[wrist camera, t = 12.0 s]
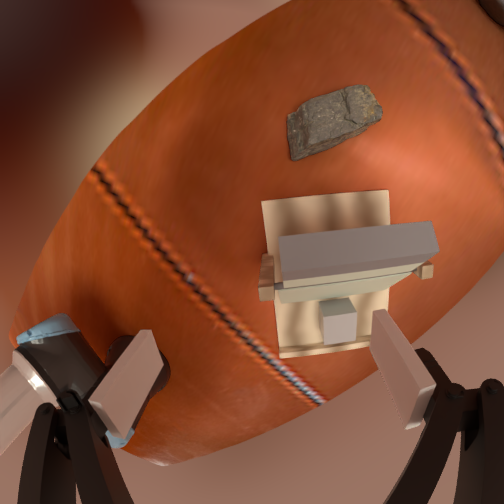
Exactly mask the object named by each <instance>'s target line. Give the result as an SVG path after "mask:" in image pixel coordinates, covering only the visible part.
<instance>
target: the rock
mask: <svg viewBox="0 0 504 504" xmlns="http://www.w3.org/2000/svg"><path fill="white" fill-rule="evenodd" d="M370 91H371V90H370V88H369V87H368V86H367V85H354V86H349V87H345V88H344V89H341V90H338V91H335V92H332V93H329V94H326V95H322V96H318V97H315V98H312V99H310V100H308V101H306V102H305V103H303V104H302V105H301V106H300V107H299V108H298V110H297V111H296V112H293V113H291V114H289V115H288V119H287V129H288V133H287V136H288V137H287V139H288V141H289V148H290V155H291V159H292V160H293V161H298V160H300V159H303V158H305V157H306V156H308V155H313V154H316V153H318V152H322V151H324V150H327V149H330V148H332V147H334V146H336V145H337V144H340V143H342V142H343V141H345V140H346V139H349V138H352V137H354V136H357V135H359V134H361V133H362V132H364V131H365V130H367V128H368V127H369V126H370V125H373V124H375V123H377V122H379V121H380V120H381V117H382V114H383V111H382V107H381V106H380V105H379V103H378V102H377V100H376V99H375V96H374V94H373V93H371V92H370Z"/></svg>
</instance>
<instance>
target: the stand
mask: <svg viewBox="0 0 504 504" xmlns="http://www.w3.org/2000/svg"><path fill="white" fill-rule="evenodd" d="M262 210H263V217H264V225H265V233H266V240H267V248H268V253H264V254H262V261H261V268H260V276H259V284H258V291H259V298H260V301H270V300H274V306H275V314H276V323H277V332H278V341H279V355H280V358H289V357H299V356H308V355H316V354H324V353H331V352H338V351H344V350H350V349H356V348H362V347H367V346H370V339H371V327H372V314H373V311H374V310H380V309H385V310H386V311H388V299H389V288H387V289H385V290H382V291H376V292H369V293H363V294H356V295H349V296H342V297H334V298H327V299H319V300H311V301H302V302H293V303H284V304H281V301H280V297H279V293H278V290H280V289H289V288H284V285H283V277H282V269H281V260H280V250H279V241H278V237H280V236H289V235H298V234H307V233H316V232H325V231H334V230H344V229H353V228H363V227H373V226H383V225H390V206H389V190H371V191H357V192H344V193H333V194H322V195H311V196H302V197H292V198H283V199H275V200H266V201H262ZM409 272H413V273H414V274H416V275H417V276H418V277H419V278H421V279H427V278H432V277H433V264H432V263H430V262H429V261H425V262H424V263H423V264H421V265H420V266H418V267H417V268H415V269H414V270H412V271H409ZM403 273H408V272H403ZM396 274H402V273H396ZM390 275H395V274H390ZM383 276H389V275H383ZM376 277H382V276H376ZM369 278H375V277H369ZM362 279H368V278H362ZM355 280H361V279H355ZM348 281H354V280H348ZM340 282H347V281H340ZM332 283H339V282H332ZM324 284H331V283H324ZM316 285H323V284H316ZM308 286H315V285H308ZM299 287H307V286H299ZM290 288H298V287H290ZM348 297H349V299H350V300H351V302H352V304H353V306H354V308H355V309H356V311H357V326H356V340H355V341H349V342H343V343H336V344H329V345H324V344H323V340H322V336H321V332H320V328H319V303H318V301H326V300H334V299H341V298H348Z"/></svg>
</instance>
